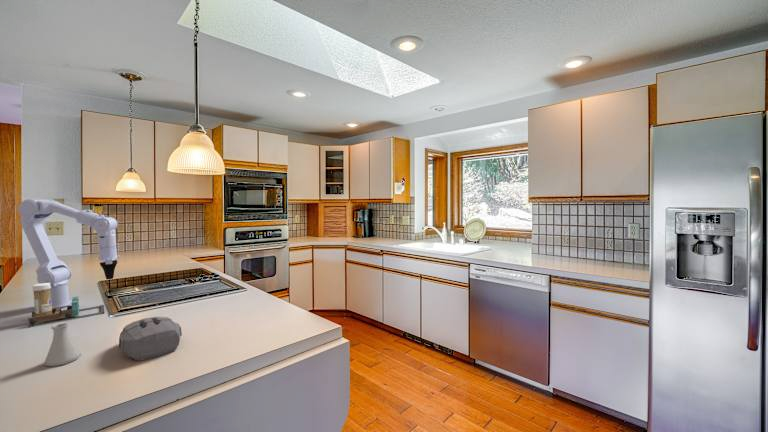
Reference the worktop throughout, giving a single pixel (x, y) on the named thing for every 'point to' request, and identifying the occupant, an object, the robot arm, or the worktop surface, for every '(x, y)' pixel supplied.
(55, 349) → the flask
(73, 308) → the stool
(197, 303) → the worktop surface
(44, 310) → the sprinkles bottle
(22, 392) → the worktop surface
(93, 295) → the worktop surface
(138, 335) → the grey rounded bag
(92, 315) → the dark grey flat frame
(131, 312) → the worktop surface
